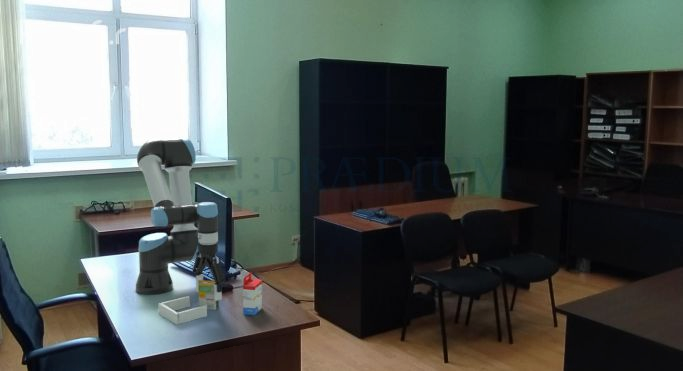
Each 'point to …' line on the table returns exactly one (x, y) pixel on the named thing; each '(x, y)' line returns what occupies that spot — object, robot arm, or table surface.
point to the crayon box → (207, 294)
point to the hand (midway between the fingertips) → (208, 295)
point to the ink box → (252, 295)
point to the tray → (184, 316)
